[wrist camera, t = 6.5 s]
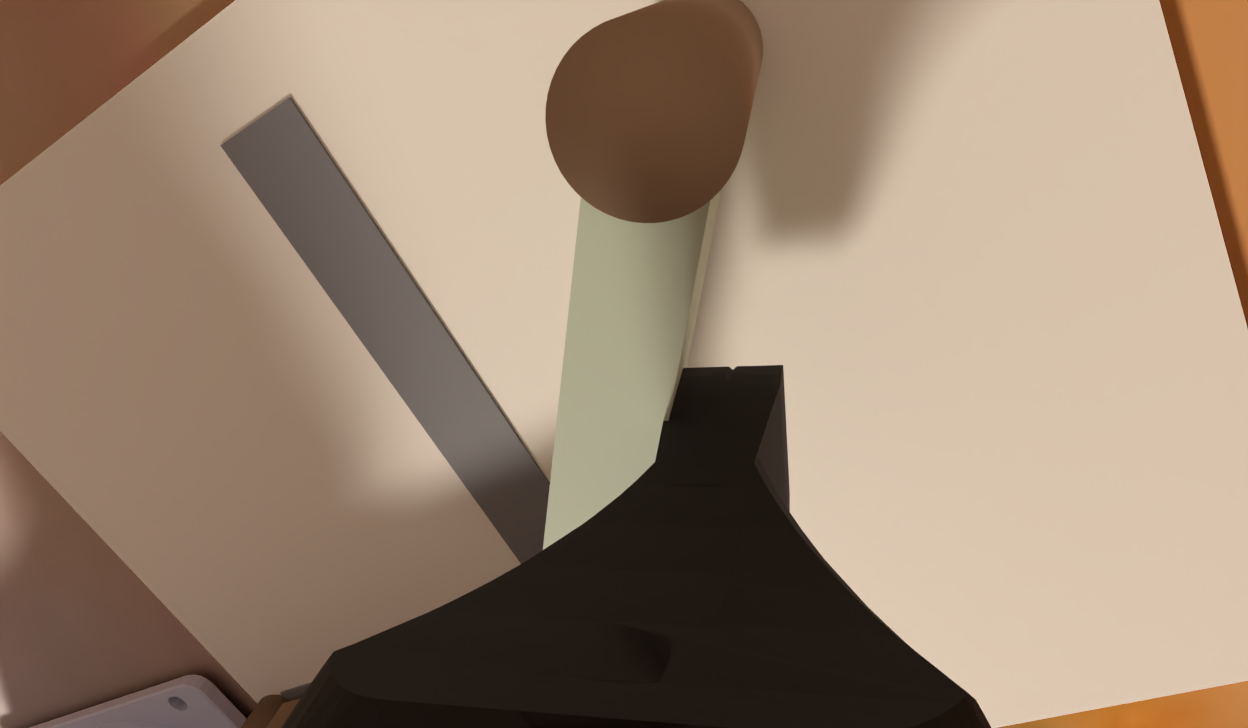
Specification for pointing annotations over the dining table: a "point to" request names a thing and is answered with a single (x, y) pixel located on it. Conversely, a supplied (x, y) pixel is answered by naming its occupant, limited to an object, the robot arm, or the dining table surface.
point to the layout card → (723, 336)
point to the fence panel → (639, 226)
